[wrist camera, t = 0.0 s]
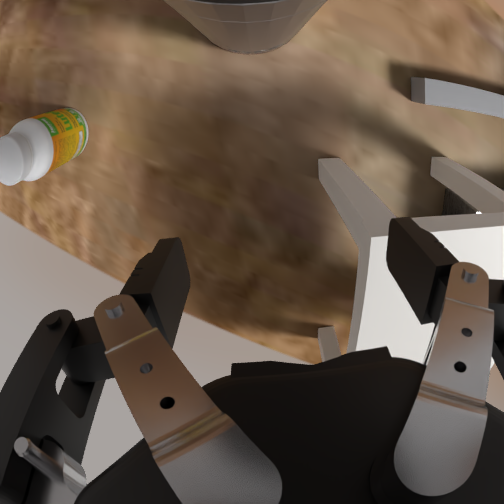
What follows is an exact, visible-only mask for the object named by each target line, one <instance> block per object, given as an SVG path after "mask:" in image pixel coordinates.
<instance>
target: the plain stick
mask: <svg viewBox="0 0 504 504" xmlns="http://www.w3.org/2000/svg"><path fill="white" fill-rule="evenodd" d="M411 101H413V102H418V103H422V104H427V105H435V106H442V107H449V108H455V109H461V110H467V111H472V112H478V113H482V114H487V115H492V116H496V117H501V118H504V96H503V95H500V94H496V93H493V92H489V91H485V90H481V89H477V88H473V87H469V86H465V85H460V84H456V83H451V82H446V81H440V80H435V79H429V78H419V77H411Z"/></svg>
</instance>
